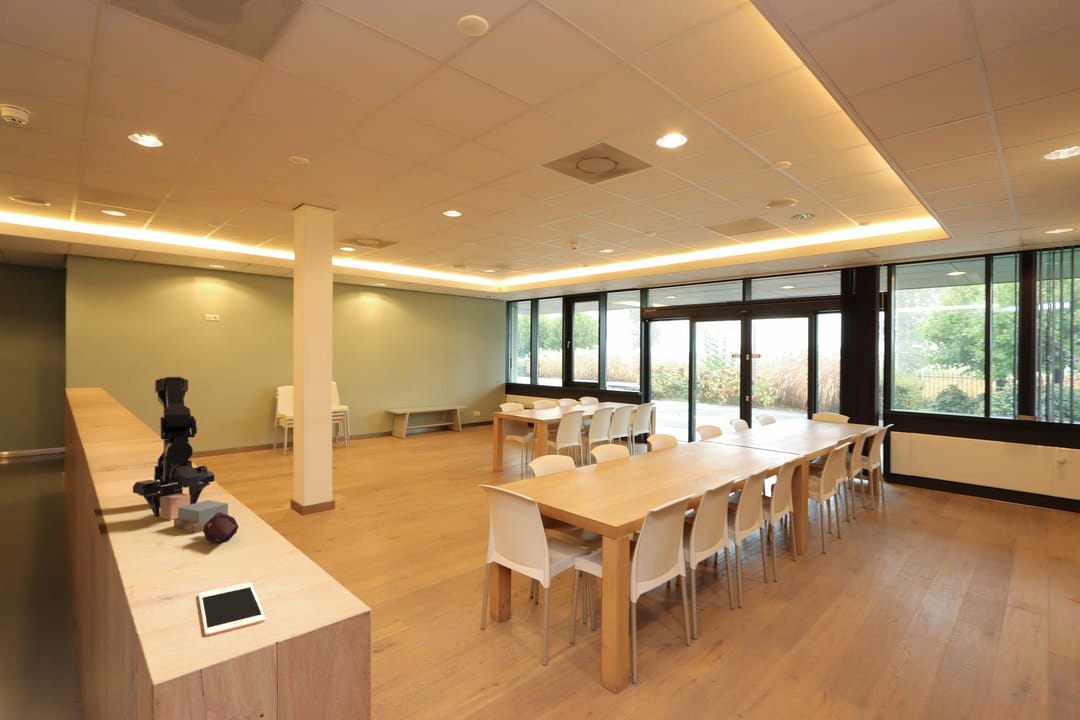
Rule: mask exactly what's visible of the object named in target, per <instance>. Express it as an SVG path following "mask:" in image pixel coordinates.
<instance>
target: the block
mask: <svg viewBox="0 0 1080 720" xmlns="http://www.w3.org/2000/svg"><path fill="white" fill-rule="evenodd" d="M187 505H190V495H189V494H186V493H183V494H182V493H177V494H172V495H168V496H163V497H161V505H160V513H159V518H160V517H161V518H165V519H167V520H166V521H169V520H173V521H174V519H176V518H178V508H179V507H183V506H187ZM161 518H160V519H161ZM165 519H164V520H165Z"/></svg>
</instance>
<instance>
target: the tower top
mask: <svg viewBox="0 0 1080 720" xmlns="http://www.w3.org/2000/svg"><path fill="white" fill-rule="evenodd" d="M218 512H221V513H223V514H227V515H229V514H228V513H229V503H226V502H220V501H214V500H208V499H207V500H204V501H203V500H202V501H199V502H196V503H195V504H191V505H187V506H183V507H179V508H178V519H181V520H186V521H191V522H196V523H200V522H204V521H207V520H210V519H211V518H212V517H214V515H215V514H216V513H218Z"/></svg>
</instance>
